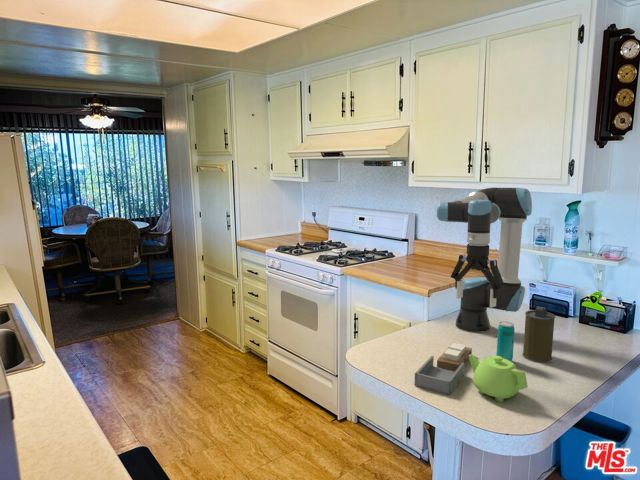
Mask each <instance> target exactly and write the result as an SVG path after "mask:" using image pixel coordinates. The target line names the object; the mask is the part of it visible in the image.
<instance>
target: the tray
mask: <svg viewBox="0 0 640 480" xmlns="http://www.w3.org/2000/svg"><path fill="white" fill-rule="evenodd" d="M434 358H435V357H434V355H431V356H430V357H429V358H428V359H427V360H426V361H425V362H424V363H423V364H422V365H421V366H420V368H418V369H417V370H416V371H415V373H414V386H415V387H419V388H422V389H425V390H430V391H433V392H436V393H441V394H444V395H449V396H450V395H451V393H452V392H453V390H454V389H455V388H456V386H457V385H458V384H459V382H460V381H461V380H462V378H463V376H464V375H465V365H464V363H461V365H460V366H459V367H458V369H457V370H456V371H451V370H447V369H443V368H439V367H437V366H434Z"/></svg>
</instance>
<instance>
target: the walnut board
mask: <svg viewBox="0 0 640 480" xmlns="http://www.w3.org/2000/svg"><path fill="white" fill-rule="evenodd" d="M451 345H452V343H451V344H450V346H451ZM450 346H448V347H447V349H449V347H450ZM472 351H473V348H472V347H467V346H466V351H465V352H464V353H463V354H462V355H461V357H460V358H459V359H458V361H454V360H450V359H446V358H444V352H443V353H442V354H441V355H440V356H439V357H438V358H437V360H436V367H439V368H443V369H447V370H451V371H456V370H457V369H458V367H459V366H460V365H461V363H464V366H465V365H466V363H468V361H469V360H470V359H469V355H470V354H471V355H473V352H472Z"/></svg>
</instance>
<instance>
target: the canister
mask: <svg viewBox="0 0 640 480" xmlns="http://www.w3.org/2000/svg"><path fill="white" fill-rule="evenodd" d="M524 315H525V321H524V334H523V335H524V336H523V349H522V354H521V355H522V357H524V359H526V360H528V361H531V362H534V363H549V362H551V361H552V360H553V354H552V353H553V343H554V331H555V319H556V315H555V314H554V313H552V312H548V311H547V310H546V307H543V306H539V305H538V306H537V305H536V308H535V310H533V309H532V310H527V311H525V313H524Z"/></svg>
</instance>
